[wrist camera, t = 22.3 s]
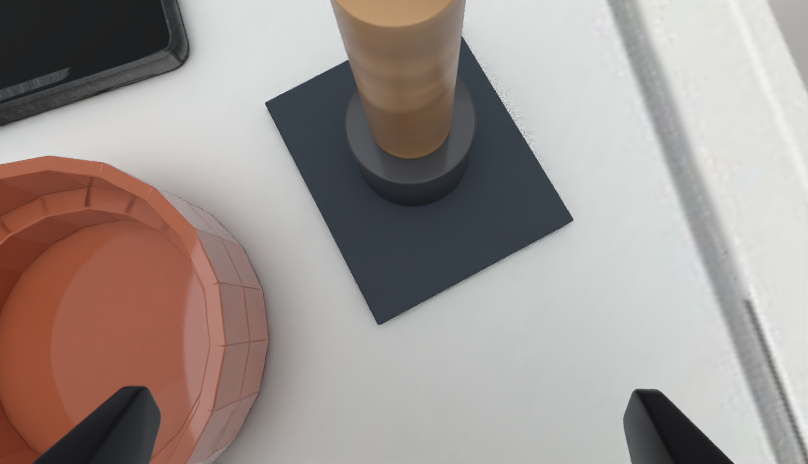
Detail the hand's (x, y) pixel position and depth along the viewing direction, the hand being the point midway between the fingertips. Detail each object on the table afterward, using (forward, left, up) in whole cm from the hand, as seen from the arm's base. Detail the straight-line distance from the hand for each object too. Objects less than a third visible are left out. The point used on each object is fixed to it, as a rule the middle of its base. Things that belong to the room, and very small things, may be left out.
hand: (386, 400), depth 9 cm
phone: (+23, +10, -13) cm, 28 cm away
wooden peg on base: (+8, -4, -13) cm, 16 cm away
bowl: (+7, +12, -13) cm, 19 cm away
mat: (+8, -4, -13) cm, 16 cm away
